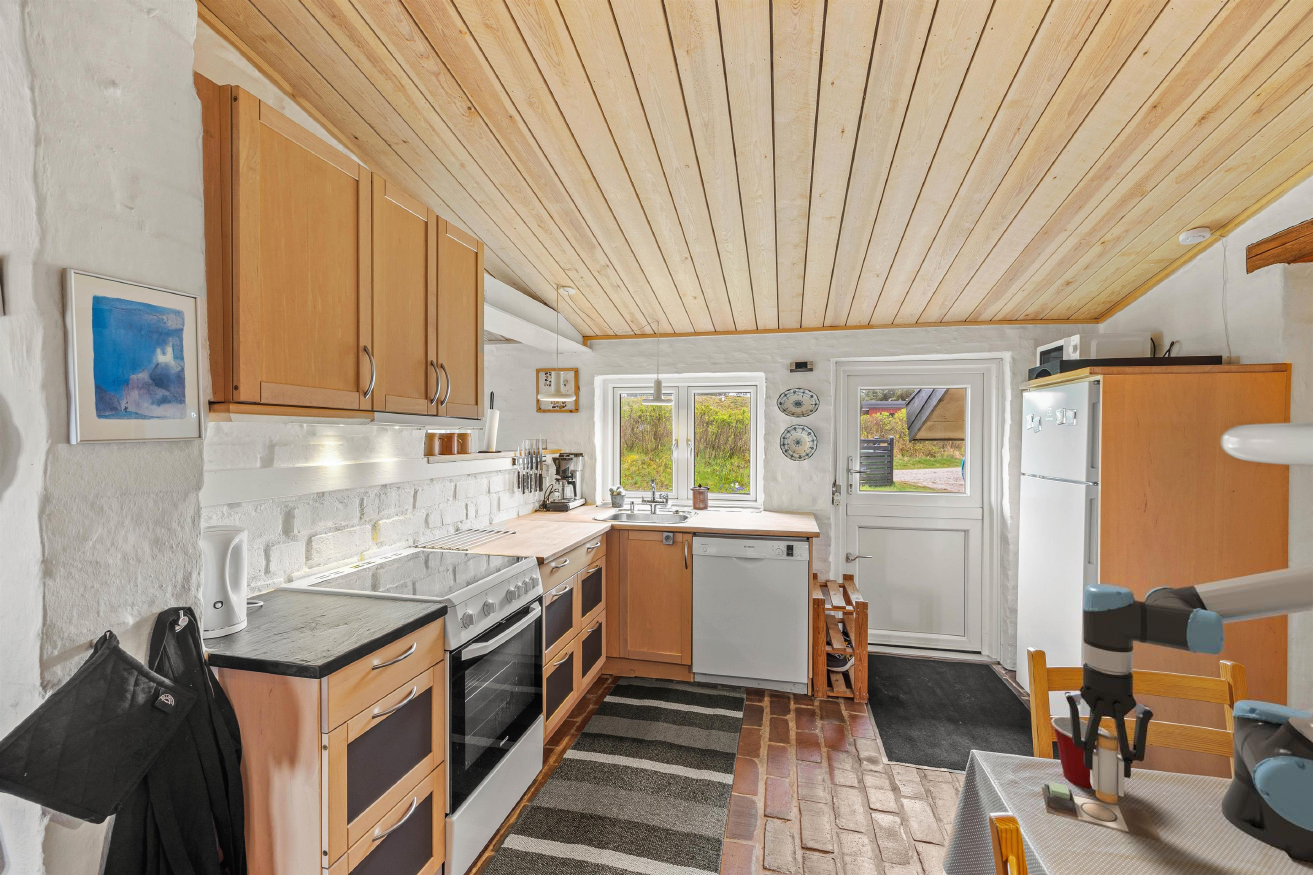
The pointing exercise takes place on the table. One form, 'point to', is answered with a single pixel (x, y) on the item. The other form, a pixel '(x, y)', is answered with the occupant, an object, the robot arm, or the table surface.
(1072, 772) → the plastic cup
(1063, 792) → the button
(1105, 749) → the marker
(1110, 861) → the table surface
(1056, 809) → the board
